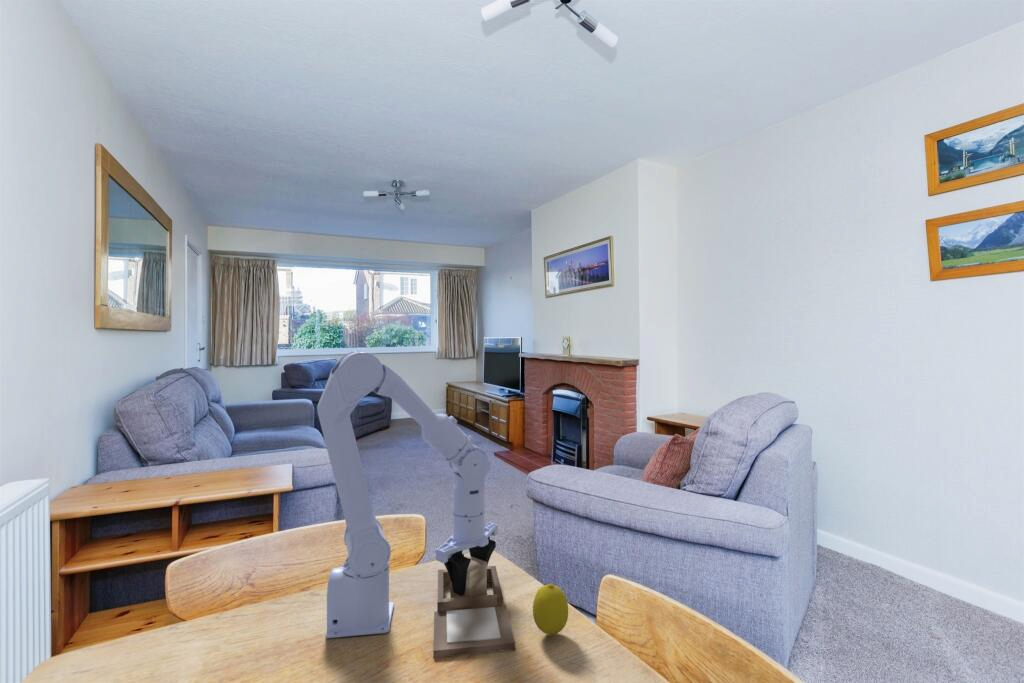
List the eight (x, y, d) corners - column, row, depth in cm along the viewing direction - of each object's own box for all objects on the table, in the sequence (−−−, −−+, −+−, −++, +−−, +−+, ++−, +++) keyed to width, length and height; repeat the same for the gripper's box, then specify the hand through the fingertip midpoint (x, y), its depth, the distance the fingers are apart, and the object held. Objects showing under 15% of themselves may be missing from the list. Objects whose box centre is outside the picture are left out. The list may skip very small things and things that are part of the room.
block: (469, 606, 79) (469, 572, 79) (450, 598, 82) (450, 564, 82) (486, 595, 83) (486, 561, 83) (467, 587, 86) (467, 555, 86)
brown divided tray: (433, 657, 67) (433, 640, 67) (435, 583, 87) (435, 570, 87) (515, 649, 68) (515, 632, 68) (498, 578, 89) (498, 565, 89)
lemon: (570, 647, 69) (570, 593, 69) (533, 646, 69) (533, 593, 69) (566, 624, 75) (566, 575, 75) (532, 624, 75) (532, 574, 75)
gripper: (457, 530, 74) (457, 613, 74) (510, 504, 86) (510, 577, 86) (427, 519, 79) (427, 599, 79) (481, 497, 90) (481, 566, 90)
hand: (468, 587), depth 83 cm, fingers closed on block, 5 cm apart
